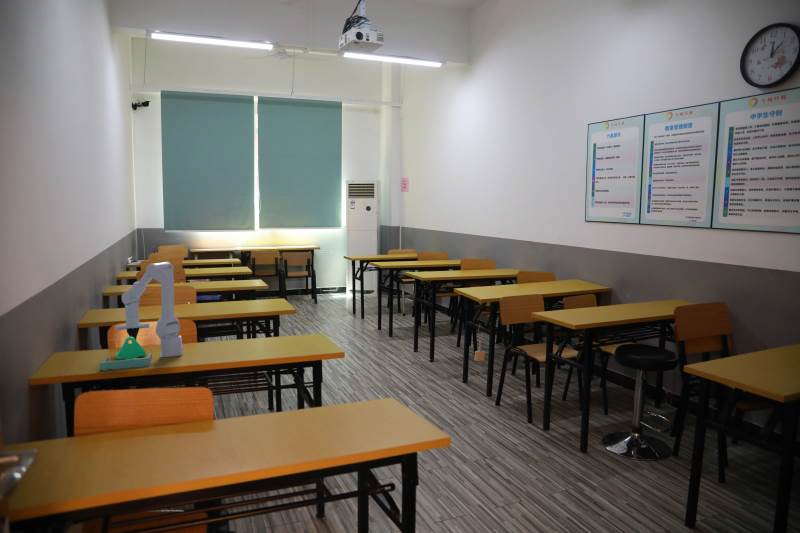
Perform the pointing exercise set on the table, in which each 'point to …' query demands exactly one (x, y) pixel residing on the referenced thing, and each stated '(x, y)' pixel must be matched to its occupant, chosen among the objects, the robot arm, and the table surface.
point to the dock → (125, 363)
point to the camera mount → (130, 350)
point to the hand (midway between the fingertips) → (134, 343)
